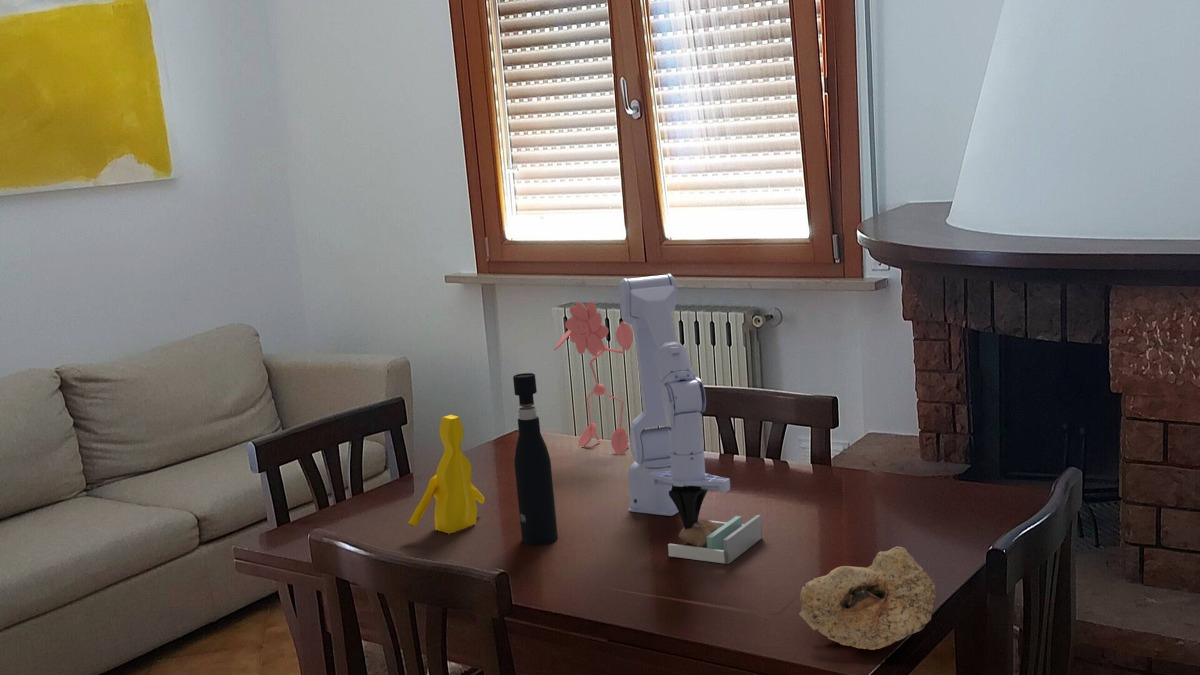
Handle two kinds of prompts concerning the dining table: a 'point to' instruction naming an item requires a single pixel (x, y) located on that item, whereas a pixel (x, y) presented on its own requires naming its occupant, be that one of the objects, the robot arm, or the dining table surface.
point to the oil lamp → (698, 533)
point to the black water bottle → (533, 470)
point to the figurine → (588, 335)
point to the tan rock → (870, 601)
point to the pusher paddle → (723, 533)
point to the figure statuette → (451, 484)
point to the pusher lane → (731, 544)
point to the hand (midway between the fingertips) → (691, 528)
